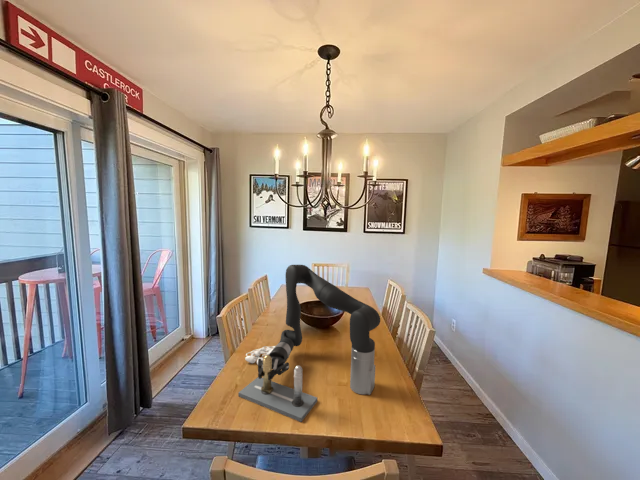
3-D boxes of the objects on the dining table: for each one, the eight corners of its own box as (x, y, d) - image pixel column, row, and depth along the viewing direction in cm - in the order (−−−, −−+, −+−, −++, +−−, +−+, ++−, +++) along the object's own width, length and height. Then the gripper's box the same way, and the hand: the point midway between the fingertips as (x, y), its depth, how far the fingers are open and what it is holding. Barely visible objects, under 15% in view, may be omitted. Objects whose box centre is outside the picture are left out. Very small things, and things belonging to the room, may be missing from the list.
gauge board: (317, 401, 107) (317, 397, 107) (301, 422, 96) (301, 417, 96) (258, 379, 119) (258, 376, 119) (238, 396, 109) (238, 392, 109)
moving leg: (273, 389, 110) (274, 354, 109) (268, 394, 108) (268, 358, 106) (265, 386, 112) (265, 352, 111) (260, 390, 109) (260, 355, 108)
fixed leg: (303, 401, 104) (304, 365, 103) (299, 406, 102) (299, 369, 100) (296, 399, 106) (296, 362, 104) (292, 403, 103) (292, 366, 101)
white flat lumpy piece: (266, 347, 150) (265, 339, 150) (288, 352, 143) (288, 344, 143) (239, 363, 134) (239, 354, 133) (263, 369, 127) (262, 360, 126)
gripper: (264, 344, 124) (246, 365, 107) (295, 348, 121) (282, 370, 104) (264, 360, 125) (247, 384, 108) (295, 364, 122) (282, 389, 105)
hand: (264, 377), depth 106 cm, fingers closed on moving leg, 3 cm apart
